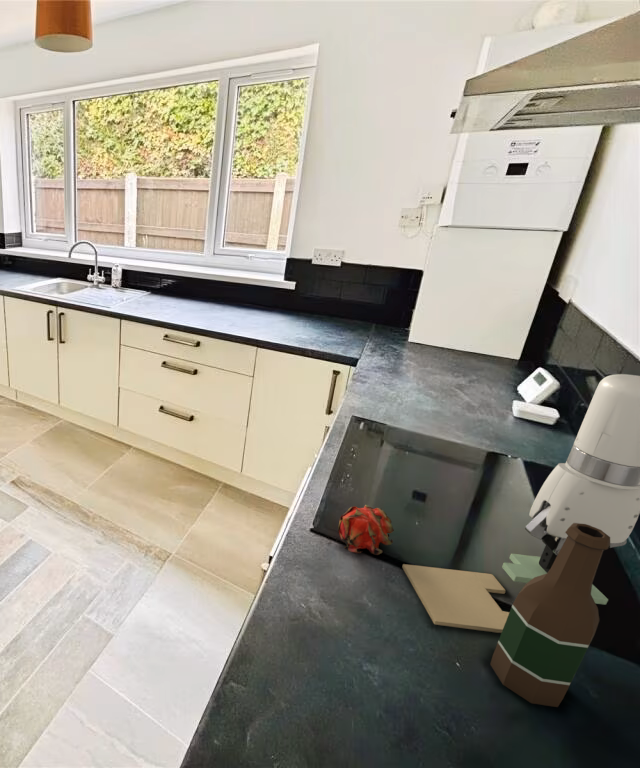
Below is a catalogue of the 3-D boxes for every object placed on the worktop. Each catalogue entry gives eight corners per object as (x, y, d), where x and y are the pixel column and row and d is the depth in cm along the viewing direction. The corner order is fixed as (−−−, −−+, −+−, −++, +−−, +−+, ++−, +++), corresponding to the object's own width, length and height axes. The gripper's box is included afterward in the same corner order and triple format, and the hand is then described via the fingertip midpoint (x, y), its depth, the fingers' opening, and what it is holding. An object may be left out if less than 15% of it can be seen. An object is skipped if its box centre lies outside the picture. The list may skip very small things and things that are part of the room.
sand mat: (490, 579, 77) (492, 574, 77) (538, 640, 66) (541, 634, 65) (401, 569, 79) (402, 563, 79) (433, 627, 68) (435, 621, 67)
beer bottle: (571, 724, 55) (652, 564, 47) (491, 690, 59) (553, 537, 50) (557, 673, 61) (626, 524, 53) (485, 645, 65) (539, 502, 57)
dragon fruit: (382, 542, 88) (345, 574, 82) (351, 503, 91) (313, 532, 86) (415, 528, 81) (377, 562, 75) (380, 487, 84) (341, 517, 79)
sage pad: (564, 564, 72) (581, 528, 69) (606, 605, 64) (626, 565, 62) (492, 556, 73) (506, 520, 71) (524, 594, 66) (541, 555, 63)
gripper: (648, 457, 64) (597, 562, 71) (523, 446, 66) (485, 548, 73) (701, 487, 57) (640, 600, 64) (560, 473, 59) (514, 583, 66)
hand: (557, 571), depth 68 cm, fingers closed on sage pad
